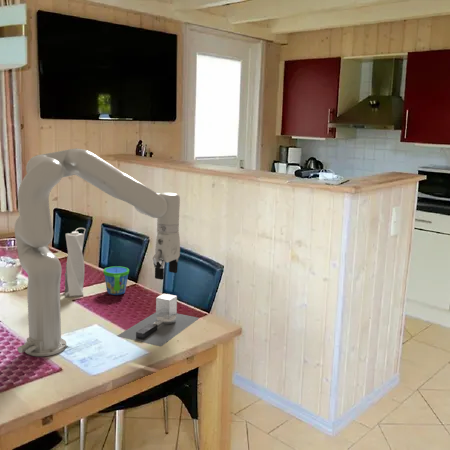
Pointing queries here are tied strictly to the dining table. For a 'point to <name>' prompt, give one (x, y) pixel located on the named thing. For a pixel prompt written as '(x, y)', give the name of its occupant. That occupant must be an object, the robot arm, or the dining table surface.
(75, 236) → the skyscraper
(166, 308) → the light grey block
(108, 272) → the snack cup
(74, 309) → the dining table surface
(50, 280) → the robot arm
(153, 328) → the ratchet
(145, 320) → the tool mat
